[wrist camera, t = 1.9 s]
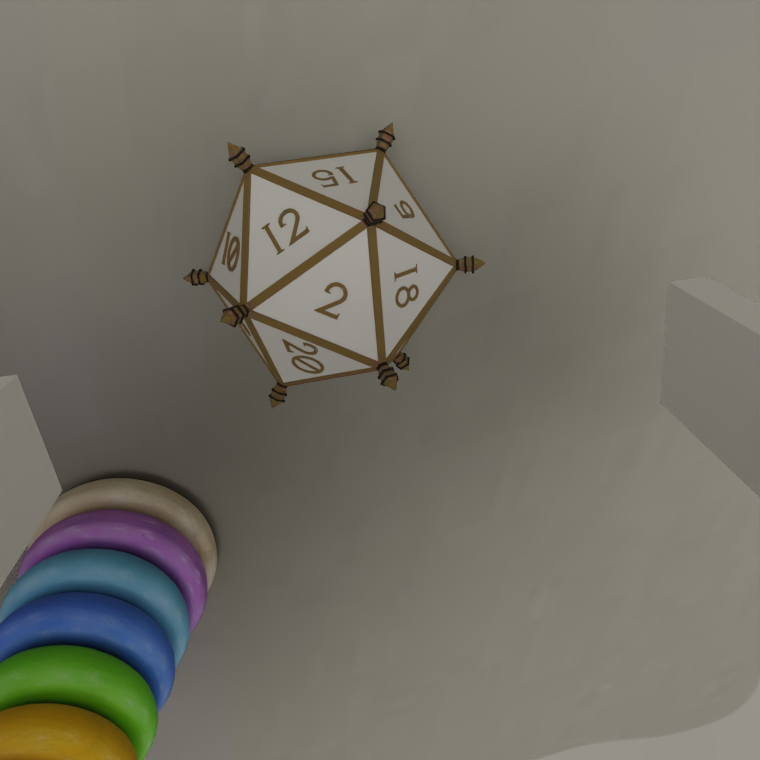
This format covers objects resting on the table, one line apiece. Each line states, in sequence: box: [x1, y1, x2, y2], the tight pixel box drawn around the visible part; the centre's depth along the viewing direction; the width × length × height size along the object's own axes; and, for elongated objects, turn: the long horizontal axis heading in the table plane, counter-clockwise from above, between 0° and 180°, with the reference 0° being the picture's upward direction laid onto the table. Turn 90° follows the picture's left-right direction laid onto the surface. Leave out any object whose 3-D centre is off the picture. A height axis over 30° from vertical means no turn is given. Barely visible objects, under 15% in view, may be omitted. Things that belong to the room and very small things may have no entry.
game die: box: [183, 123, 485, 408], centre depth 21 cm, size 9×8×10 cm
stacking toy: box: [0, 478, 217, 760], centre depth 21 cm, size 8×8×19 cm
